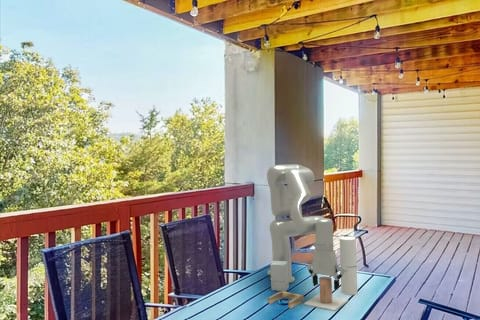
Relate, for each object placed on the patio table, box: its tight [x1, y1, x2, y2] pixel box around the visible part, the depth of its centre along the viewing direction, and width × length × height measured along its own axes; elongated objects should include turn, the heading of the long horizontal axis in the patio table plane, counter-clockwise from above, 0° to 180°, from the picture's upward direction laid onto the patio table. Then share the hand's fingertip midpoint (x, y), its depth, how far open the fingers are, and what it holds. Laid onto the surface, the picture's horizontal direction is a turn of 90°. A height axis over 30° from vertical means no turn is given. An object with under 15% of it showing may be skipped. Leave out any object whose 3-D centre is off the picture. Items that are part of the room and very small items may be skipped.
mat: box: [303, 293, 349, 312], centre depth 170 cm, size 14×14×1 cm
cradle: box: [267, 291, 304, 310], centre depth 172 cm, size 11×11×2 cm
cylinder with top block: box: [318, 275, 333, 304], centre depth 169 cm, size 5×6×10 cm
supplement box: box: [269, 260, 290, 292], centre depth 191 cm, size 7×7×13 cm
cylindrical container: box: [339, 236, 358, 296], centre depth 182 cm, size 7×7×25 cm
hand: (325, 287), depth 170 cm, fingers open, 9 cm apart
